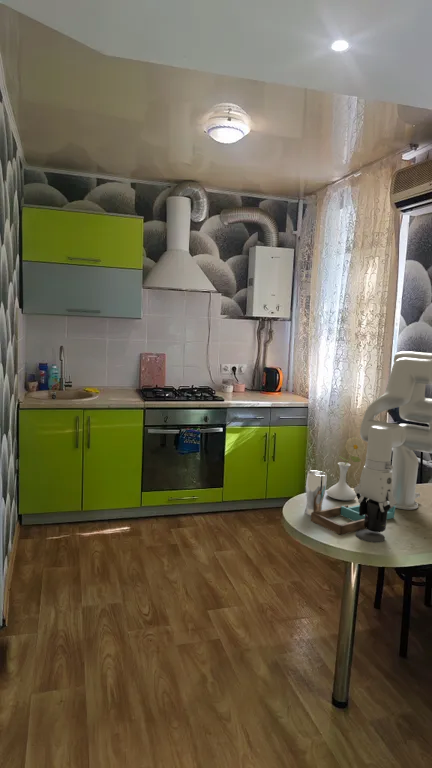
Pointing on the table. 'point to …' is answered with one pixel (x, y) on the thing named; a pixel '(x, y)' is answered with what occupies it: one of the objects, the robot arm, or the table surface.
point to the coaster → (370, 536)
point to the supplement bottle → (373, 517)
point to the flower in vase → (341, 488)
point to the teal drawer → (354, 515)
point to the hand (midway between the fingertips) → (372, 518)
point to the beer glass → (315, 491)
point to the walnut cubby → (340, 529)
